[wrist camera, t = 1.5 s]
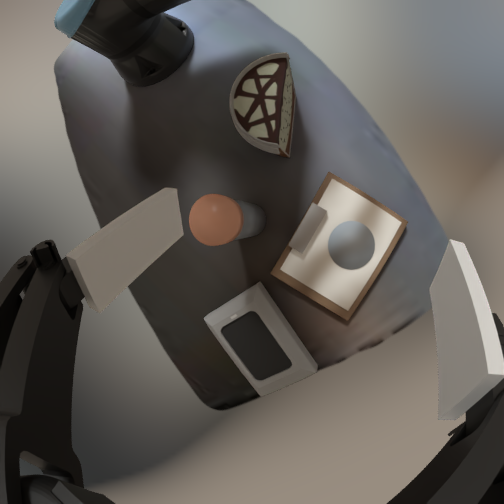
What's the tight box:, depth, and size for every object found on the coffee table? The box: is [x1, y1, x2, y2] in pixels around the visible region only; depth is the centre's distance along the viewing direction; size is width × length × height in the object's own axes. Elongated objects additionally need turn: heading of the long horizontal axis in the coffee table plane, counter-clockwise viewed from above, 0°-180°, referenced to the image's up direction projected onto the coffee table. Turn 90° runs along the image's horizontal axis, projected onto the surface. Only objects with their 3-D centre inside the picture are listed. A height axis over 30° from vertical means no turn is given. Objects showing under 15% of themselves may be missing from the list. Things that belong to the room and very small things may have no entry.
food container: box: [229, 52, 296, 158], centre depth 29 cm, size 12×6×10 cm, turn 173°
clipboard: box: [270, 172, 408, 321], centre depth 32 cm, size 12×15×2 cm
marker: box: [189, 194, 266, 246], centre depth 30 cm, size 5×5×13 cm
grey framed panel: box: [204, 281, 318, 397], centre depth 36 cm, size 10×4×15 cm
